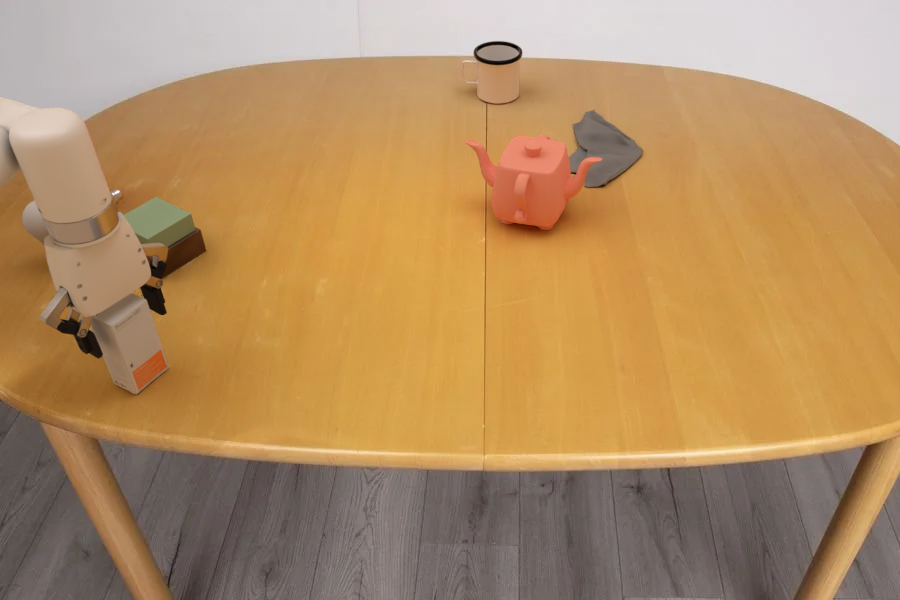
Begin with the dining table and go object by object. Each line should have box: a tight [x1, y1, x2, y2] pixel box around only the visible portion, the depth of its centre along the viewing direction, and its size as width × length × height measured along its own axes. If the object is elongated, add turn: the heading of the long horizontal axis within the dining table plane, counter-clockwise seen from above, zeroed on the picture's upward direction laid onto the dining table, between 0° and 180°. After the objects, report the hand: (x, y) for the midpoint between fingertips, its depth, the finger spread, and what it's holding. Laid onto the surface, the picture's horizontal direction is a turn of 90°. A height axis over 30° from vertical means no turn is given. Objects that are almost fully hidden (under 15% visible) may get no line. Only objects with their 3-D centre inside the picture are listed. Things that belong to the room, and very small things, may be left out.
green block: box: [123, 196, 196, 247], centre depth 131 cm, size 8×8×3 cm
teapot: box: [464, 133, 602, 231], centre depth 139 cm, size 15×17×13 cm
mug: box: [460, 40, 523, 105], centre depth 171 cm, size 12×10×9 cm
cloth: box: [568, 109, 643, 188], centre depth 157 cm, size 26×14×2 cm, turn 168°
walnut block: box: [146, 226, 207, 279], centre depth 133 cm, size 9×9×4 cm
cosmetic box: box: [90, 292, 170, 395], centre depth 111 cm, size 6×4×12 cm
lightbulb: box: [21, 199, 49, 248], centre depth 130 cm, size 6×6×11 cm
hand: (126, 331), depth 110 cm, fingers open, 9 cm apart
